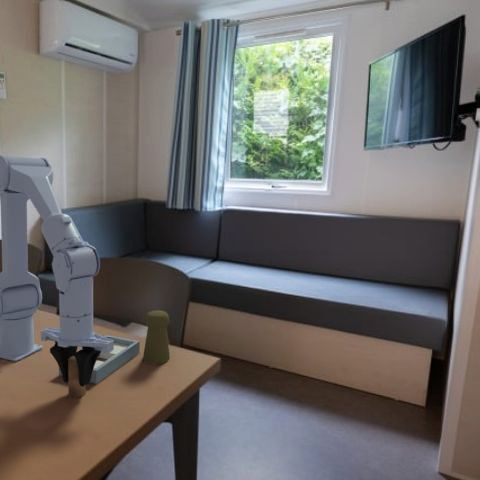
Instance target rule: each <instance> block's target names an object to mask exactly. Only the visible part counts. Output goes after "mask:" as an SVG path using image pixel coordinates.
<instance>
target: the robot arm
mask: <svg viewBox="0 0 480 480" xmlns="http://www.w3.org/2000/svg"><path fill="white" fill-rule="evenodd" d="M53 180H54V169H53V166H52V164H51V163H50V161H49V160H48V159H47V158H46V157H41V158H37V157H22V156H21V157H20V156H6V155H0V224H1V227H0V229H1V232H0V233H1V264H2V266H1V267H2V271H1V272H0V359H4V360H8V361H13V362H17V361H19V360H22V359H25V358H26V357H29V355H32V354H34V353H36V352H37V351H40V350H42V349H43V348H44V345H41V344H37V343H35V337H34V336H35V335H34V334H35V332H34V331H35V330H34V329H35V327H34V314H36V313H37V309H38V308H40V306H41V304H42V303H43V301H42V300H43V292H42V289H41V285H40V278H39V277H38V276H37V275H35V274H34V273H32V272H30V271H29V263H28V262H29V253H28V251H29V250H28V244H29V243H28V201H29V200H30V202H31V203H32V205H33V207H34V208H35V210H36V211H37V213H38V214H39V216H40V218H41V219H42V223H41V226H40V231H41V234H42V235H43V237H44V240H45V242H46V244H47V245H48V248H49V250H50V252H51V254H52V256H53V257H52V262H51V267H52V268H51V269H52V272H53V275H54V278H55V287H56V289H57V290H59V291H58V292H59V293H58V297H59V298H58V300H59V304H58V307H59V328H57V327H46V328H44V329H41V330H40V341H43V342H47V341H51V342H54V345H53V346H51V347H50V348H49V353H50V354H51V355H52V356H53V358H54V360H55V361H56V363H57V365H58V369H59V368H60V371H61V374H62V376H61V377H62V381H63V382H64V383H68V359H69V358H70V357H72V356H75V359H76V361H77V365H78V370H79V384H80V386H82V387H83V386H85V385H88V384H89V383H90V379H91V375H92V372H93V368H94V366H95V363H96V361H97V360H98V359H99V358H98V357H99V355H100V353H101V351H103V353H104V354H108V353H110V352H111V351H113V350H114V340H111V339H108V338H105V337H104V335H103V336H102V335H101V334H99V333H96V332H94V277H96V276H97V275H98V274H99V271H100V268H101V259H100V256H99V253H98V250H97V248H95V246H94V245H91V244H90V243H89V242H88V241H85V240H83V237H82V235H81V234H80V232H79V230H78V228H77V226H76V224H75V222H74V221H73V218H72V217H71V216H70V215H68V214H66V213H63V212H62V209H61V207H60V204H59V202H58V199H57V196H56V195H55V191H54V189H53ZM79 347H80V348H81V349H82V350H81V349H79V350H78V348H79Z"/></svg>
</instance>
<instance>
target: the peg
mask: <svg viewBox="0 0 480 480" xmlns="http://www.w3.org/2000/svg"><path fill="white" fill-rule="evenodd" d="M67 383H68V387H67V390H68V393H67V395H68V398H71V399H80V398H82V397H84V396H85V395H86V393H87V392H86V391H87V390H86V389H87V388H86V385H87V384H86V385H85V386H83V387H82V386H80V384H79V370H78V365H77V361H76V359H75V356H72V357H70V358H69V359H68V382H67Z"/></svg>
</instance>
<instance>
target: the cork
mask: <svg viewBox="0 0 480 480" xmlns="http://www.w3.org/2000/svg"><path fill="white" fill-rule="evenodd" d="M169 323H170V316H169V314H168V313H167V312H166V311H164V310H159V309H158V310H157V309H156V310H152V311H149V312H148V313H147V314H146V316H145V324H146V326H147V330H146V337H145V342H144V343H145V344H144V350H143V354H142V355H143V357H142V360H143V361H144V362H145V363H147V364H149V365H161V364H165V363H167V362H169V361H170V359H171V356H170V346H169V339H168V338H169V337H168V328H167V327H168V325H169Z"/></svg>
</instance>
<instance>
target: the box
mask: <svg viewBox="0 0 480 480" xmlns="http://www.w3.org/2000/svg"><path fill="white" fill-rule="evenodd" d="M103 337H105V338H108V339H111V340H114V350H113V351H111V352H110V353H108V354H104V353H103V351H101V353H100V355H99V357H98V359H99V358H100V359H105V361H103V360H98V359H97V361H96V363H95V366H94V368H93V372H92V375H91V379H90V382H89V383H90V384H95V385H97V384H99V383H100V382H102V381H103V380H104V379H105V378H107V377H108V376H110V375H111V374H112V373H113V372H115V371H116V370H117V369H119V368H120V367H122V366H123V365H125V364H126V363H127V362H129V361H130V360H132V359H133V358H135V357H136V356H137V355H138V354H140V353H141V351H140V349H141V348H140V347H141V346H140V340H135V339H130V338H124V337H119V336H114V335H110V334H109V335H108V334H106V335H103ZM80 350H82V348H81V349H80ZM58 375H59V376H61V377H62V374H61V371H60V368H59V367H58Z"/></svg>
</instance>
